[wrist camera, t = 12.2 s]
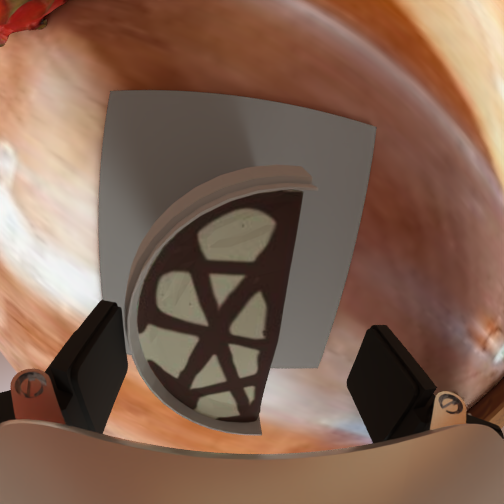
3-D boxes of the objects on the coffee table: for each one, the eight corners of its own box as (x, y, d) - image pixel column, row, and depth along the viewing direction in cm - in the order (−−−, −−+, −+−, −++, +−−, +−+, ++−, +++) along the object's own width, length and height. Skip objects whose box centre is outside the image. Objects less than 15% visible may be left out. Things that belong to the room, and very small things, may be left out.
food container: (166, 151, 16) (105, 150, 7) (265, 160, 17) (321, 169, 8) (160, 324, 20) (134, 433, 11) (241, 330, 21) (260, 440, 12)
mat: (372, 127, 17) (376, 127, 17) (316, 363, 24) (317, 368, 23) (113, 92, 15) (110, 91, 15) (112, 346, 21) (109, 350, 21)
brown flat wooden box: (524, 349, 32) (541, 363, 27) (514, 388, 38) (526, 401, 33) (443, 427, 35) (456, 448, 29) (446, 450, 41) (456, 466, 35)
